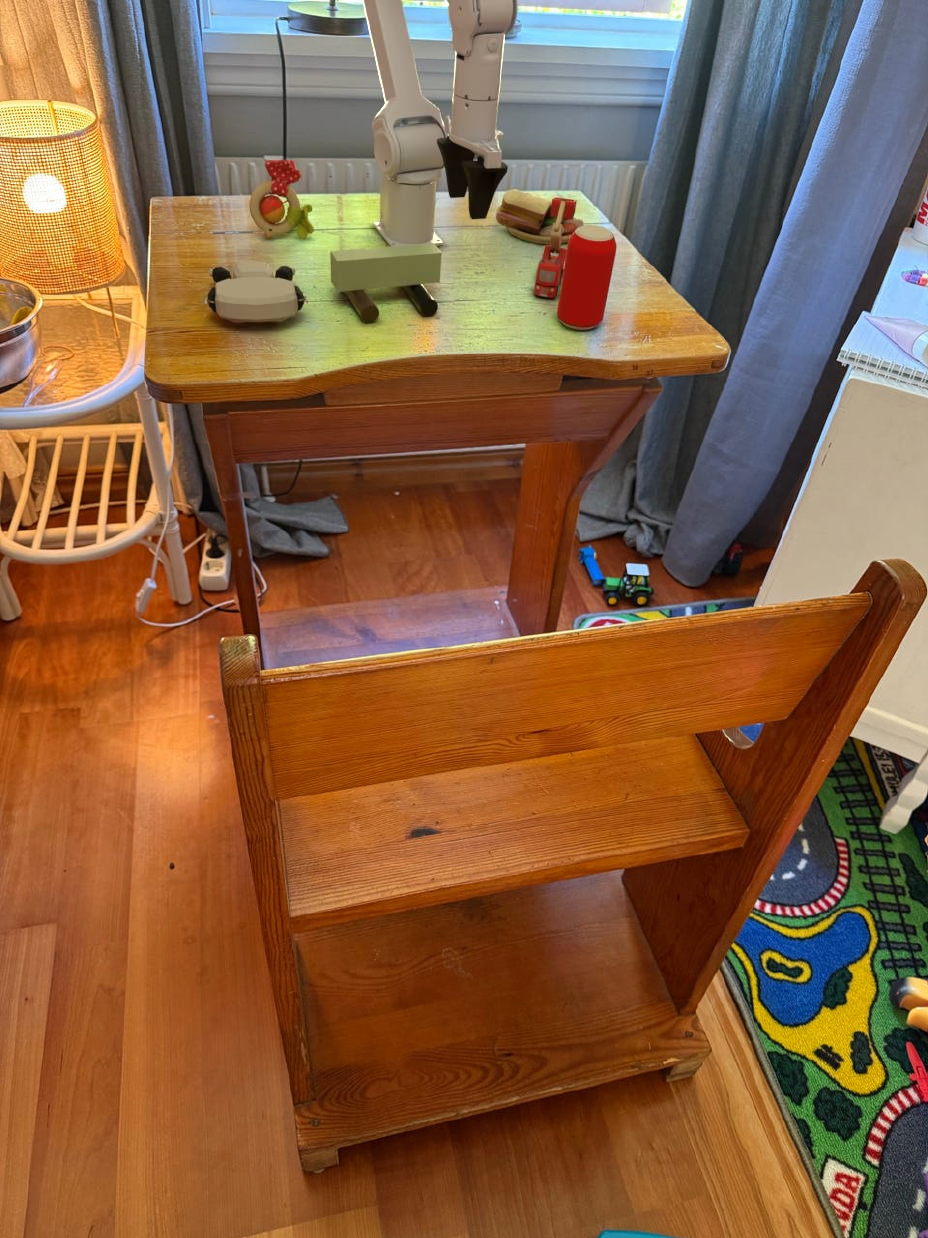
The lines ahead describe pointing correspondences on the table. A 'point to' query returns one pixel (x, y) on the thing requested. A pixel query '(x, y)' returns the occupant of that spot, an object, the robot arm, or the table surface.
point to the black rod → (422, 299)
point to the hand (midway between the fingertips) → (467, 207)
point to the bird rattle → (280, 202)
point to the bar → (385, 267)
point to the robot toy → (254, 293)
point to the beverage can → (586, 277)
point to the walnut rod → (363, 305)
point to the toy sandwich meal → (532, 218)
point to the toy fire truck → (551, 264)
